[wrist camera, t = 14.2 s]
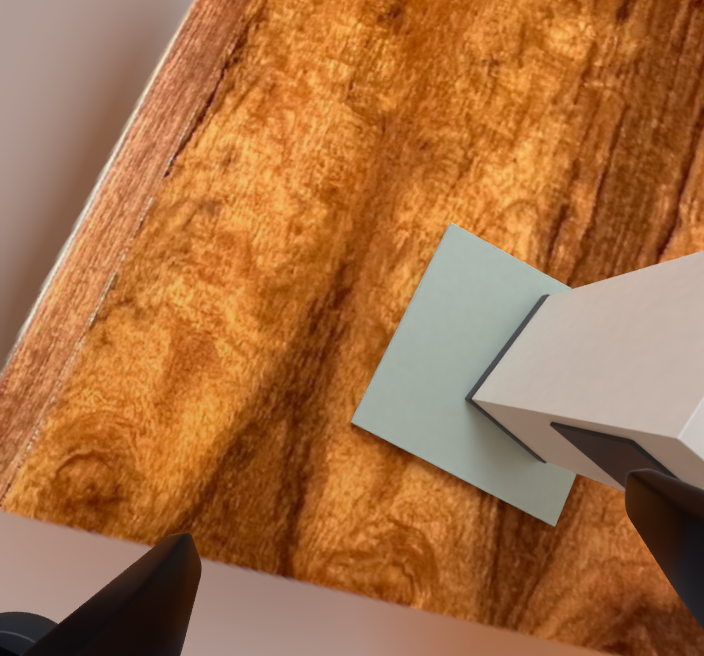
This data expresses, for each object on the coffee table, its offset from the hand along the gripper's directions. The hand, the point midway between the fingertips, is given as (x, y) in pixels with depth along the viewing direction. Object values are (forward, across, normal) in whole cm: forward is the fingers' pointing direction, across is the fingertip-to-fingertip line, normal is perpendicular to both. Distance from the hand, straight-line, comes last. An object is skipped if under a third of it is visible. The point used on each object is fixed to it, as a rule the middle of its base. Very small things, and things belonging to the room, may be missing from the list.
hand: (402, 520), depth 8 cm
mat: (+14, -6, +3) cm, 15 cm away
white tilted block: (+13, -8, +4) cm, 16 cm away
